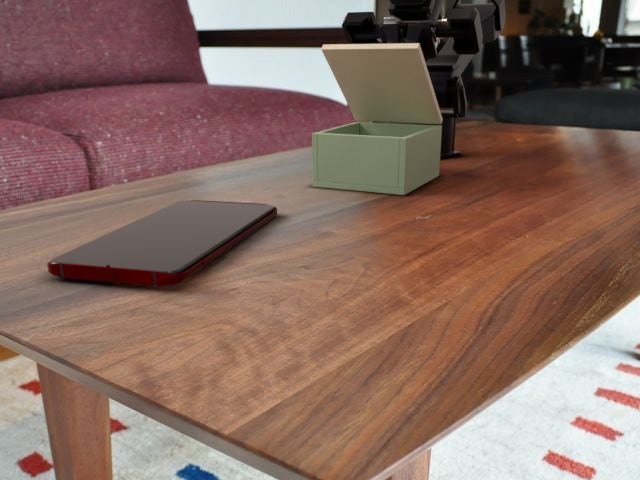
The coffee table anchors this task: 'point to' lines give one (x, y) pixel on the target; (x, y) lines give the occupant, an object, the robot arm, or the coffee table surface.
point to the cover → (384, 82)
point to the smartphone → (164, 243)
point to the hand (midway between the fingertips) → (393, 80)
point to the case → (376, 157)
